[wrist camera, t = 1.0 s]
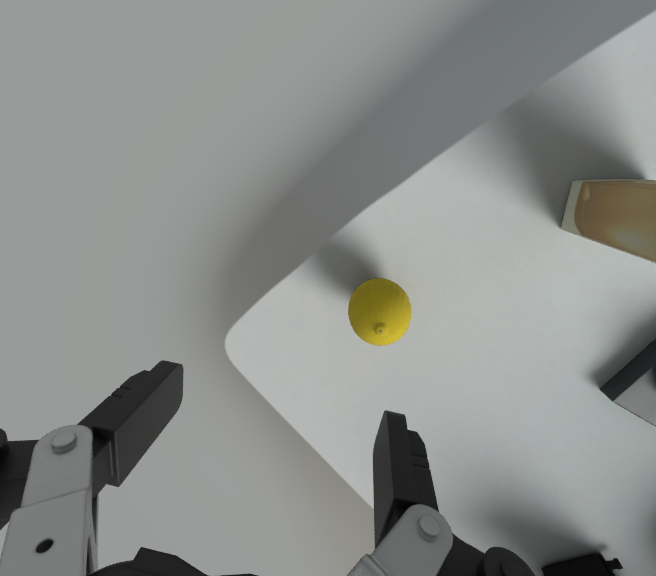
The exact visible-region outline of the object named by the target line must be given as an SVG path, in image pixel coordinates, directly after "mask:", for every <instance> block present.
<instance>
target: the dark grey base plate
mask: <svg viewBox="0 0 656 576" xmlns="http://www.w3.org/2000/svg"><path fill="white" fill-rule="evenodd" d="M600 390H601V391H602V392H603V393H604V394H605V395H606V396H607V397H608V398H609V399H610V400H611V401H613V402H614V403H616V404H618V405H620V406H621V407H623V408H625V409H626V410H628V411H630V412H632V413H633V414H635V415H637V416H638V417H640V418H642V419H644V420H645V421H647V422H649V423H651V424H652V425H654V426H656V340H655V341H653V342H652V343H651V344H650V345H649V346H648V347H647V348H646V349H645V350H643V351H642V352H641V353H640V354H639V355H638V356H637V357H636V358H635V359H633V360H632V361H631V362H630V363H629V364H628V365H627V366H626V367H625V368H623V369H622V370H621V371H620V372H619V373H618V374H617V375H616V376H615V377H613V378H612V379H611V380H610V381H609V382H608V383H607V384H606V385H605V386H603V387H602V388H601V389H600Z"/></svg>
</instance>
